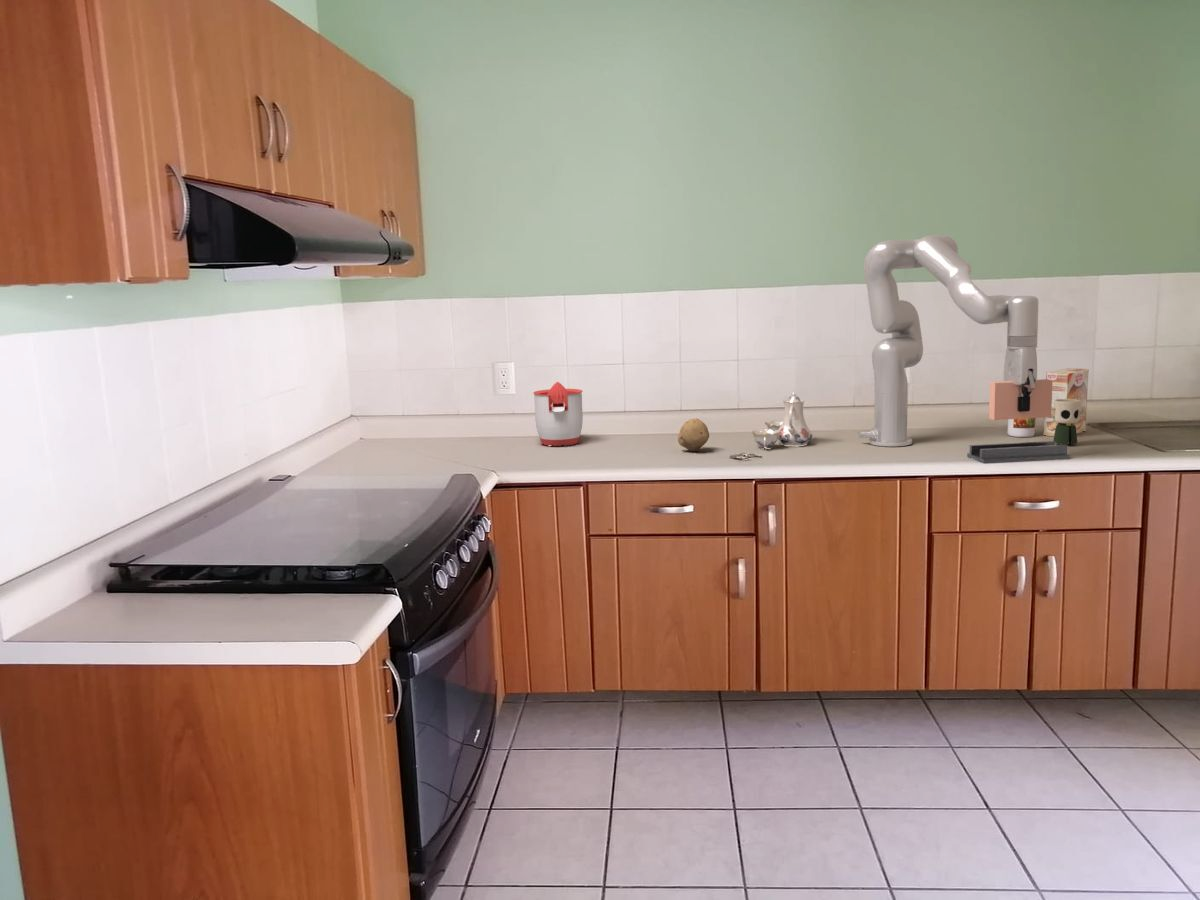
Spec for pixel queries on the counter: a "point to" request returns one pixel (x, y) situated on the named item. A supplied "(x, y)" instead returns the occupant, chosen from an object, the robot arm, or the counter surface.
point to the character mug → (1066, 420)
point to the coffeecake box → (1068, 394)
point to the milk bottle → (1021, 427)
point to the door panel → (1007, 400)
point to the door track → (1018, 452)
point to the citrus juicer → (558, 415)
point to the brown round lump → (693, 435)
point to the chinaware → (786, 426)
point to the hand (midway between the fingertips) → (1020, 409)
